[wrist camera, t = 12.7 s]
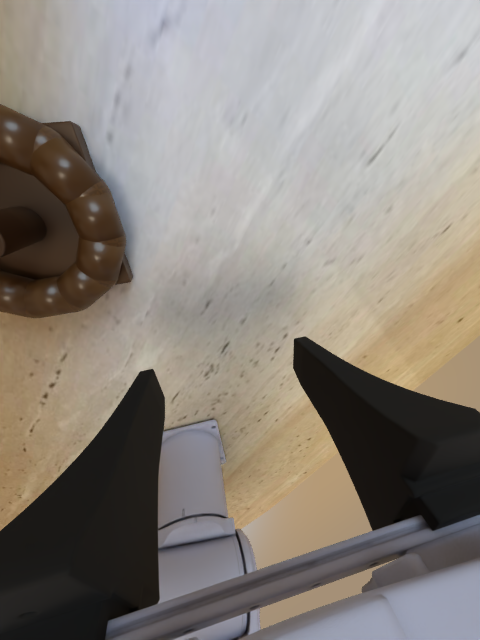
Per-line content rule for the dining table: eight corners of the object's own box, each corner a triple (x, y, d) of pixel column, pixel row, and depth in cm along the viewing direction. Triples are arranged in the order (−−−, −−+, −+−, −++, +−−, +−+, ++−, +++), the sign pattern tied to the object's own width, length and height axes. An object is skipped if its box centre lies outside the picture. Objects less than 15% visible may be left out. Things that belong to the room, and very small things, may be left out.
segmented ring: (148, 291, 17) (143, 305, 15) (-13, 318, 16) (-41, 338, 14) (83, 95, 12) (62, 77, 10) (-176, 112, 10) (-262, 95, 8)
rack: (133, 276, 18) (117, 307, 13) (3, 297, 17) (-60, 339, 12) (79, 125, 13) (28, 97, 9) (-108, 140, 12) (-275, 116, 8)
